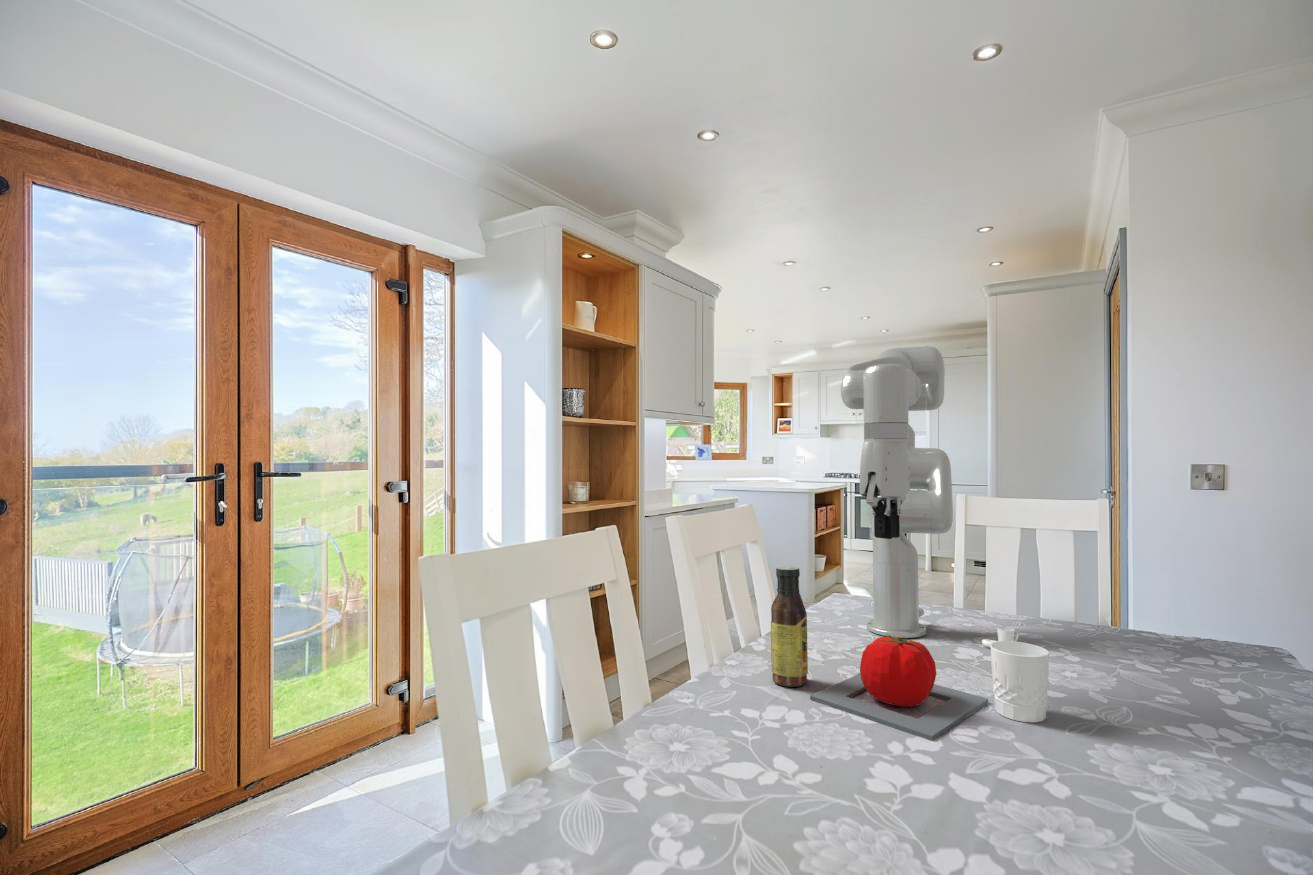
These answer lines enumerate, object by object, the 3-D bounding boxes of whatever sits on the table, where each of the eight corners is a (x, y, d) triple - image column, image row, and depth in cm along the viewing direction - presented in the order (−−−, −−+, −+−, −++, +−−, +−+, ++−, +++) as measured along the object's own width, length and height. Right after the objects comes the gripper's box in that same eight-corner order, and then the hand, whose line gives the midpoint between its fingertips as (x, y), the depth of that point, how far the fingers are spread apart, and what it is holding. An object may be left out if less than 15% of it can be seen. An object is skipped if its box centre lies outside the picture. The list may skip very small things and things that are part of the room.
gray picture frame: (873, 670, 117) (873, 667, 117) (988, 702, 102) (988, 698, 102) (810, 699, 104) (810, 695, 104) (932, 740, 89) (931, 736, 89)
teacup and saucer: (984, 652, 129) (984, 632, 129) (976, 641, 137) (976, 622, 137) (1033, 656, 127) (1032, 635, 127) (1022, 644, 134) (1022, 625, 134)
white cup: (1034, 704, 101) (1033, 641, 102) (1060, 726, 94) (1059, 657, 94) (982, 703, 102) (981, 640, 102) (1004, 723, 94) (1003, 655, 95)
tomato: (888, 719, 96) (887, 650, 96) (846, 692, 107) (845, 630, 107) (955, 711, 99) (954, 644, 99) (907, 685, 110) (906, 625, 110)
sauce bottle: (811, 689, 108) (810, 571, 109) (774, 688, 108) (773, 571, 109) (803, 675, 115) (802, 564, 115) (768, 675, 115) (768, 564, 115)
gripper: (888, 435, 122) (889, 531, 121) (843, 433, 111) (844, 539, 111) (926, 434, 116) (927, 535, 116) (883, 432, 106) (884, 544, 105)
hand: (886, 536), depth 113 cm, fingers closed
